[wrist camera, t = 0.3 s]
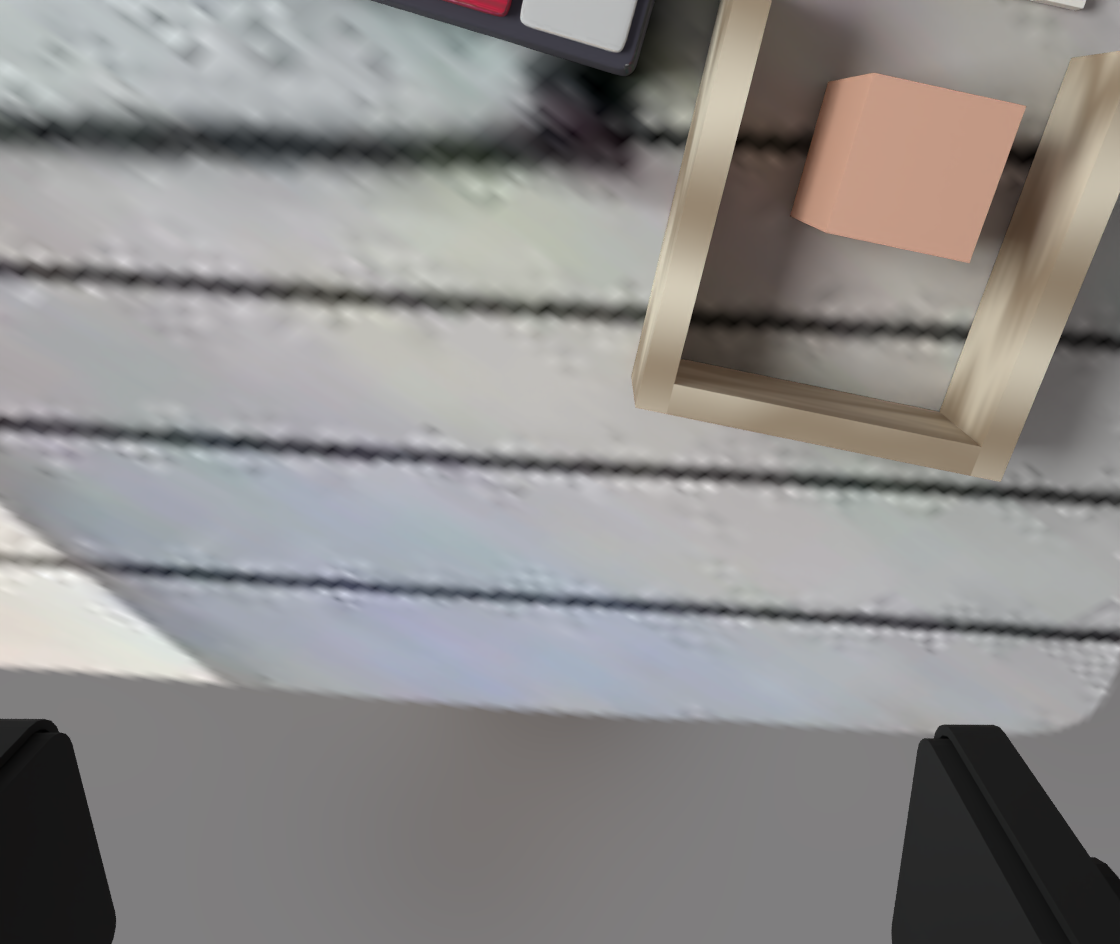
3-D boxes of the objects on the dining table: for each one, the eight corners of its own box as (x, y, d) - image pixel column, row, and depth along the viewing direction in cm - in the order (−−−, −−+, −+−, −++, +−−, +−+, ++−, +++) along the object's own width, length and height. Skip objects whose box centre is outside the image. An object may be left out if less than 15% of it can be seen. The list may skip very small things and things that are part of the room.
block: (828, 81, 34) (873, 72, 28) (955, 109, 34) (1026, 106, 28) (789, 216, 35) (825, 232, 30) (911, 241, 36) (969, 262, 30)
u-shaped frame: (724, -19, 33) (743, -41, 28) (1102, 65, 33) (1176, 55, 29) (631, 376, 38) (635, 407, 34) (956, 443, 38) (1000, 481, 34)
